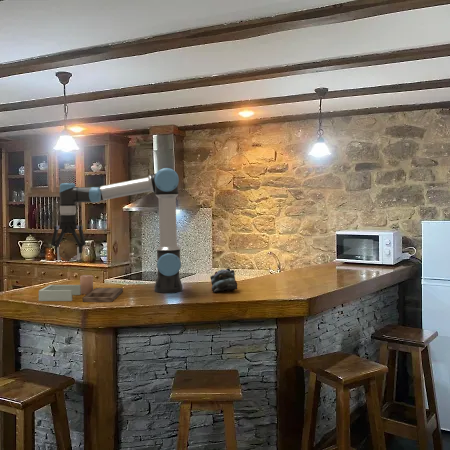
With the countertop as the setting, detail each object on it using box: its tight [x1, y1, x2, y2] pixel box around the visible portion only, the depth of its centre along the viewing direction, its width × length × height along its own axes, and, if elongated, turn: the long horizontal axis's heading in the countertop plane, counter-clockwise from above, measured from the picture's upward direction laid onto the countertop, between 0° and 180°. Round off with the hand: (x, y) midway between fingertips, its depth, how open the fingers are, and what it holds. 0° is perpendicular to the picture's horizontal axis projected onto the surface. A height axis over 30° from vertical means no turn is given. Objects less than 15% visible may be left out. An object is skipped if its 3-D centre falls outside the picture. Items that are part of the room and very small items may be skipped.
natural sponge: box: [59, 239, 78, 261], centre depth 237 cm, size 9×9×10 cm
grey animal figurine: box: [210, 267, 238, 293], centre depth 257 cm, size 15×12×14 cm
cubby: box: [38, 284, 82, 302], centre depth 238 cm, size 16×16×5 cm
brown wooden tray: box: [82, 287, 124, 303], centre depth 241 cm, size 14×26×2 cm, turn 1°
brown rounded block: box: [79, 274, 94, 295], centre depth 250 cm, size 6×6×9 cm
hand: (69, 259), depth 237 cm, fingers closed on natural sponge, 9 cm apart
